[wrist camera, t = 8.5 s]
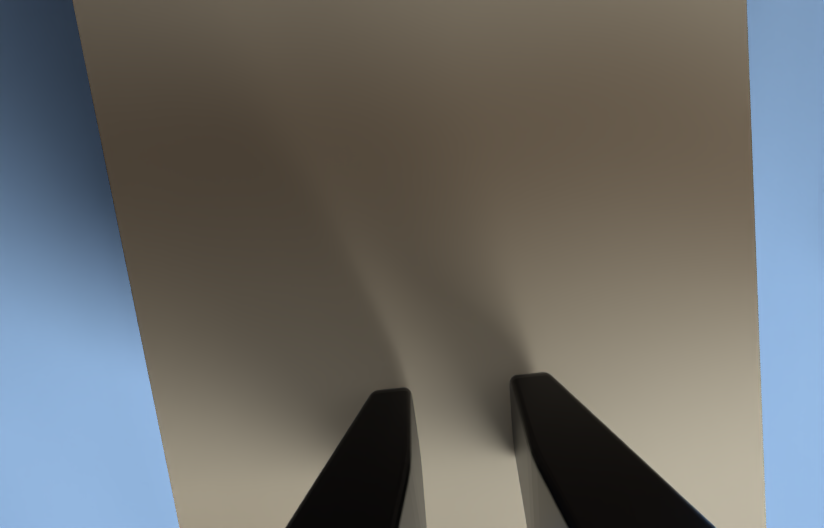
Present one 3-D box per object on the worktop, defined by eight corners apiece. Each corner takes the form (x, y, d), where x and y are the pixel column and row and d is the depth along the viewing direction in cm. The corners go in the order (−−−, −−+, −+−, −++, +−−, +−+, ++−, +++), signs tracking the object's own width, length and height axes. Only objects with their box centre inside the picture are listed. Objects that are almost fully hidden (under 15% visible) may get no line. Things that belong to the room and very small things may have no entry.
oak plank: (714, 468, 10) (766, 529, 9) (224, 523, 10) (192, 594, 9) (680, -200, 8) (736, -266, 7) (102, -120, 9) (38, -168, 7)
